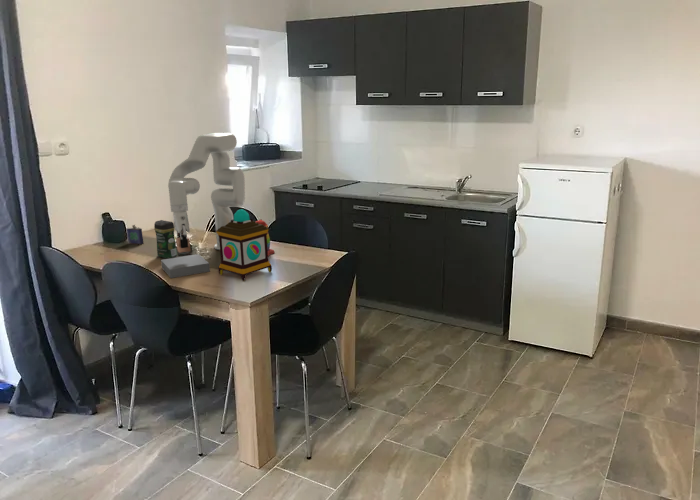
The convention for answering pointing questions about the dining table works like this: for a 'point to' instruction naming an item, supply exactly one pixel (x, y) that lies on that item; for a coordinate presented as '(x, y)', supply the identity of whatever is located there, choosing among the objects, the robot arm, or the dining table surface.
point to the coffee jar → (165, 239)
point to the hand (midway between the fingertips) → (182, 245)
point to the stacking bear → (267, 238)
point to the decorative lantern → (243, 246)
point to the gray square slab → (185, 265)
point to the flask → (134, 235)
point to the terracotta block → (180, 245)
